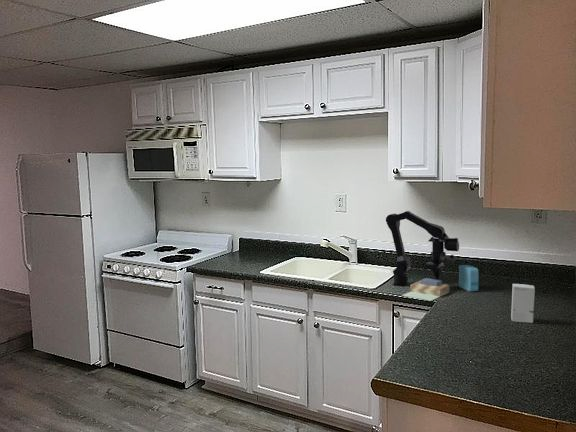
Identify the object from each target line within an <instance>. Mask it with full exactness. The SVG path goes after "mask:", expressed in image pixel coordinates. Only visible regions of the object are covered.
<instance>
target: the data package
mask: <svg viewBox="0 0 576 432" xmlns="http://www.w3.org/2000/svg"><path fill="white" fill-rule="evenodd" d="M458 287H459V288H460V289H463V290H465V291H467V292H469V293H470V292H477V291H479V269H478V268H477V267H475V266H472V265H469V264H461V265H458Z"/></svg>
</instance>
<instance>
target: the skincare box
mask: <svg viewBox="0 0 576 432" xmlns="http://www.w3.org/2000/svg"><path fill="white" fill-rule="evenodd" d="M511 288H512V289H511V290H512V291H511V310H510V313H511V314H510V318H511V322H517V323H527V324H528V323H530V324H533V323H534V311H535V310H534V308H535V294H536V293H535V291H536V289H535V286H534V285H533V284H524V283H523V284H522V283H521V284H520V283H512V287H511Z"/></svg>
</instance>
